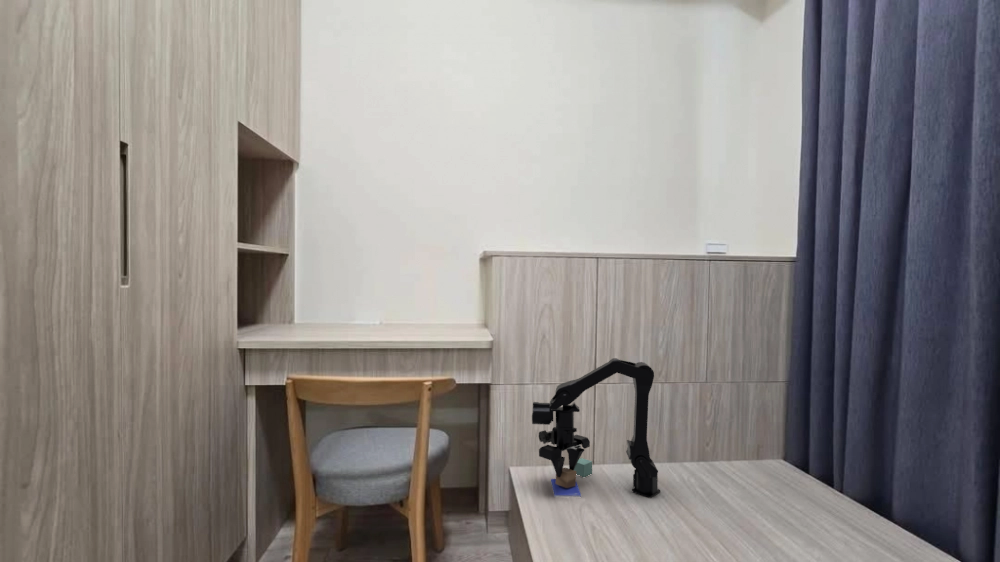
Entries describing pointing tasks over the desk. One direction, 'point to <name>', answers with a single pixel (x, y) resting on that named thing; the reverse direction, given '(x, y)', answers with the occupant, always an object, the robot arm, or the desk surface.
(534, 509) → the desk surface
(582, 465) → the teal cube
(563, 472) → the walnut cube
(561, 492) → the hard drive
